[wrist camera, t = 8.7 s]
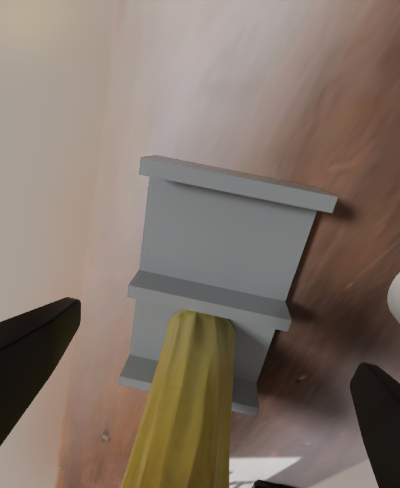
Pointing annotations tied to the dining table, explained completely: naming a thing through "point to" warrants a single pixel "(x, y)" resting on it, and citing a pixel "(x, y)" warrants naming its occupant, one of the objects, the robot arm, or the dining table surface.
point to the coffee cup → (394, 298)
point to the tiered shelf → (218, 262)
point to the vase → (187, 408)
